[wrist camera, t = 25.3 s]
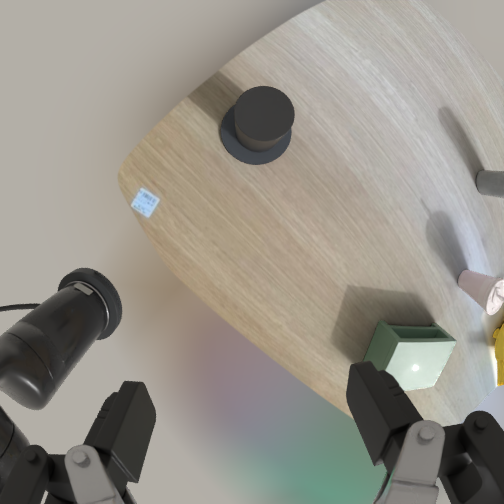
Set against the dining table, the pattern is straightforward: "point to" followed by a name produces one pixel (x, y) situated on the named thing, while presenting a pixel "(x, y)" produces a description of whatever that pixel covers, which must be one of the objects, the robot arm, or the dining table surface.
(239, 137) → the dark grey cylinder
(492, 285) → the smoothie
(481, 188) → the planter
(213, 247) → the dining table surface
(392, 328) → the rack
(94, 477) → the robot arm
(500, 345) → the teapot
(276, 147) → the coaster
